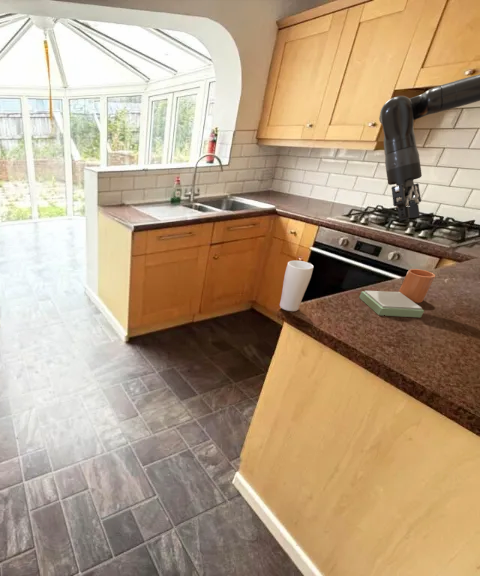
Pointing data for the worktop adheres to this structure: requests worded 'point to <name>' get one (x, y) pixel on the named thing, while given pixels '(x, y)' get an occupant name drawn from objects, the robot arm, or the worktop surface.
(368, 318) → the worktop surface
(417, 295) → the cup
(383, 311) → the scale
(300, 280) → the drinking glass
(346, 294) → the worktop surface
